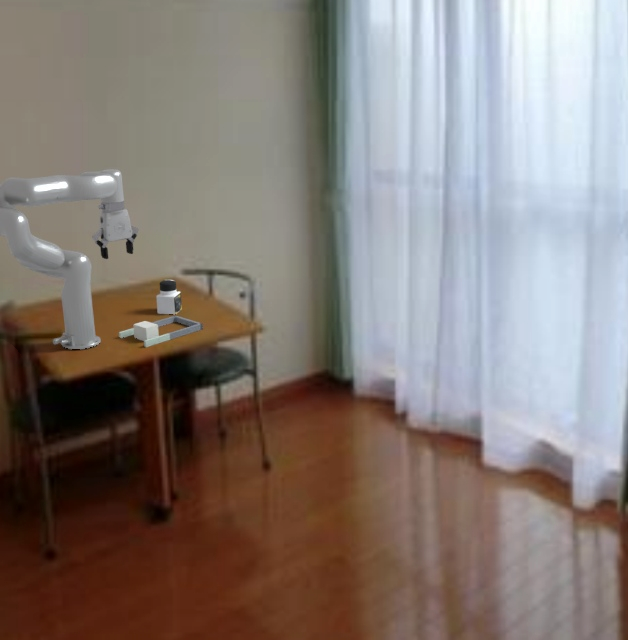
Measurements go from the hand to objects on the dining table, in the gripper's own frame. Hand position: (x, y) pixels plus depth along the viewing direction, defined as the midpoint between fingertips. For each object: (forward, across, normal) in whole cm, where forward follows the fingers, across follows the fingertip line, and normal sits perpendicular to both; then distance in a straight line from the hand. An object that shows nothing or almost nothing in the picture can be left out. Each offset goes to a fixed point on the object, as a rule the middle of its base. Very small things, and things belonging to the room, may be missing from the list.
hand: (117, 255), depth 291 cm
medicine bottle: (+26, +22, +4) cm, 35 cm away
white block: (+26, -1, -15) cm, 30 cm away
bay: (+26, +6, -15) cm, 31 cm away
